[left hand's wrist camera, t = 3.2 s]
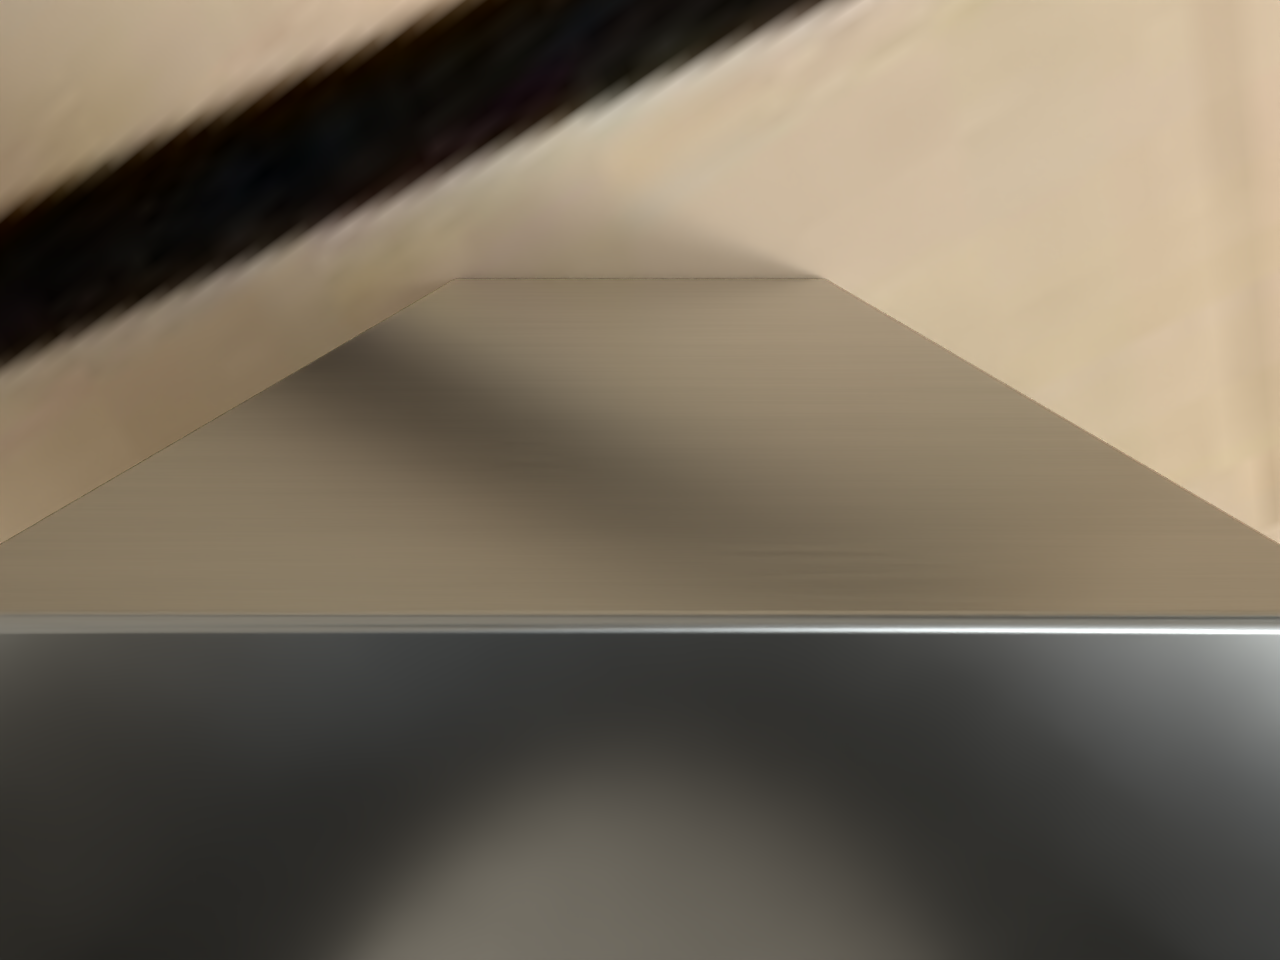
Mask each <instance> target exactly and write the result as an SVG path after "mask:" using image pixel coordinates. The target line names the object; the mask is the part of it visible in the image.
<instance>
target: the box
mask: <svg viewBox="0 0 1280 960" xmlns="http://www.w3.org/2000/svg"><path fill="white" fill-rule="evenodd" d="M0 960H1280V544H1279V543H1277V542H1275V541H1274V540H1272V539H1270V538H1268V537H1267V536H1265V535H1263V534H1262V533H1260V532H1258V531H1257V530H1255V529H1253V528H1251V527H1250V526H1248V525H1246V524H1245V523H1243V522H1241V521H1239V520H1238V519H1236V518H1234V517H1233V516H1231V515H1229V514H1227V513H1226V512H1224V511H1222V510H1221V509H1219V508H1217V507H1215V506H1214V505H1212V504H1210V503H1209V502H1207V501H1205V500H1203V499H1202V498H1200V497H1198V496H1197V495H1195V494H1193V493H1191V492H1190V491H1188V490H1186V489H1185V488H1183V487H1181V486H1180V485H1178V484H1176V483H1174V482H1173V481H1171V480H1169V479H1168V478H1166V477H1164V476H1162V475H1161V474H1159V473H1157V472H1156V471H1154V470H1152V469H1150V468H1149V467H1147V466H1145V465H1144V464H1142V463H1140V462H1138V461H1137V460H1135V459H1133V458H1132V457H1130V456H1128V455H1126V454H1125V453H1123V452H1121V451H1120V450H1118V449H1116V448H1115V447H1113V446H1111V445H1109V444H1108V443H1106V442H1104V441H1103V440H1101V439H1099V438H1097V437H1096V436H1094V435H1092V434H1091V433H1089V432H1087V431H1085V430H1084V429H1082V428H1080V427H1079V426H1077V425H1075V424H1073V423H1072V422H1070V421H1068V420H1067V419H1065V418H1063V417H1061V416H1060V415H1058V414H1056V413H1055V412H1053V411H1051V410H1049V409H1048V408H1046V407H1044V406H1043V405H1041V404H1039V403H1038V402H1036V401H1034V400H1032V399H1031V398H1029V397H1027V396H1026V395H1024V394H1022V393H1020V392H1019V391H1017V390H1015V389H1014V388H1012V387H1010V386H1008V385H1007V384H1005V383H1003V382H1002V381H1000V380H998V379H996V378H995V377H993V376H991V375H990V374H988V373H986V372H984V371H983V370H981V369H979V368H978V367H976V366H974V365H973V364H971V363H969V362H967V361H966V360H964V359H962V358H961V357H959V356H957V355H955V354H954V353H952V352H950V351H949V350H947V349H945V348H943V347H942V346H940V345H938V344H937V343H935V342H933V341H931V340H930V339H928V338H926V337H925V336H923V335H921V334H919V333H918V332H916V331H914V330H913V329H911V328H909V327H908V326H906V325H904V324H902V323H901V322H899V321H897V320H896V319H894V318H892V317H890V316H889V315H887V314H885V313H884V312H882V311H880V310H878V309H877V308H875V307H873V306H872V305H870V304H868V303H866V302H865V301H863V300H861V299H860V298H858V297H856V296H854V295H853V294H851V293H849V292H848V291H846V290H844V289H842V288H841V287H839V286H837V285H836V284H834V283H832V282H831V281H829V280H827V279H454V280H452V281H450V282H449V283H447V284H445V285H444V286H442V287H440V288H438V289H437V290H435V291H433V292H432V293H430V294H428V295H426V296H425V297H423V298H421V299H420V300H418V301H416V302H414V303H413V304H411V305H409V306H408V307H406V308H404V309H402V310H401V311H399V312H397V313H396V314H394V315H392V316H390V317H389V318H387V319H385V320H384V321H382V322H380V323H378V324H377V325H375V326H373V327H372V328H370V329H368V330H366V331H365V332H363V333H361V334H360V335H358V336H356V337H354V338H353V339H351V340H349V341H348V342H346V343H344V344H342V345H341V346H339V347H337V348H336V349H334V350H332V351H330V352H329V353H327V354H325V355H324V356H322V357H320V358H318V359H317V360H315V361H313V362H312V363H310V364H308V365H306V366H305V367H303V368H301V369H300V370H298V371H296V372H294V373H293V374H291V375H289V376H288V377H286V378H284V379H282V380H281V381H279V382H277V383H276V384H274V385H272V386H270V387H269V388H267V389H265V390H264V391H262V392H260V393H258V394H257V395H255V396H253V397H252V398H250V399H248V400H246V401H245V402H243V403H241V404H240V405H238V406H236V407H234V408H233V409H231V410H229V411H228V412H226V413H224V414H222V415H221V416H219V417H217V418H216V419H214V420H212V421H210V422H209V423H207V424H205V425H204V426H202V427H200V428H198V429H197V430H195V431H193V432H192V433H190V434H188V435H186V436H185V437H183V438H181V439H180V440H178V441H176V442H174V443H173V444H171V445H169V446H168V447H166V448H164V449H162V450H161V451H159V452H157V453H156V454H154V455H152V456H150V457H149V458H147V459H145V460H144V461H142V462H140V463H138V464H137V465H135V466H133V467H132V468H130V469H128V470H126V471H125V472H123V473H121V474H120V475H118V476H116V477H114V478H113V479H111V480H109V481H108V482H106V483H104V484H103V485H101V486H99V487H97V488H96V489H94V490H92V491H91V492H89V493H87V494H85V495H84V496H82V497H80V498H79V499H77V500H75V501H73V502H72V503H70V504H68V505H67V506H65V507H63V508H61V509H60V510H58V511H56V512H55V513H53V514H51V515H49V516H48V517H46V518H44V519H43V520H41V521H39V522H37V523H36V524H34V525H32V526H31V527H29V528H27V529H25V530H24V531H22V532H20V533H19V534H17V535H15V536H13V537H12V538H10V539H8V540H7V541H5V542H3V543H1V544H0Z"/></svg>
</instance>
